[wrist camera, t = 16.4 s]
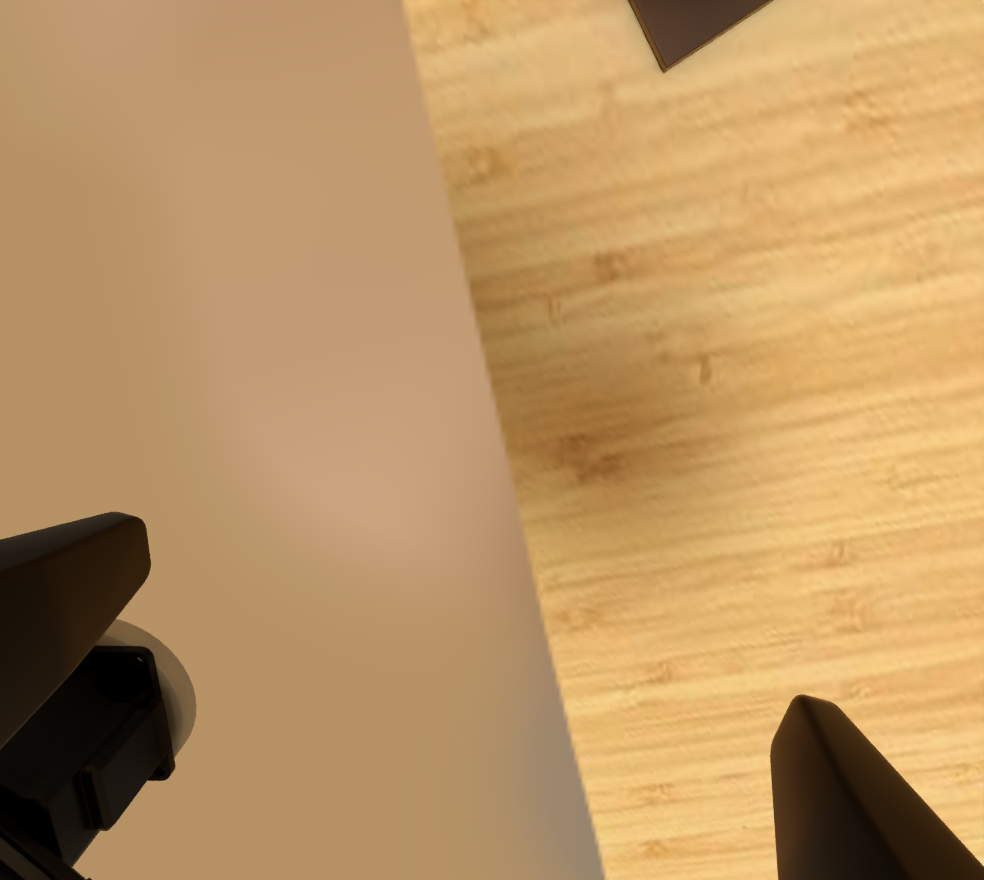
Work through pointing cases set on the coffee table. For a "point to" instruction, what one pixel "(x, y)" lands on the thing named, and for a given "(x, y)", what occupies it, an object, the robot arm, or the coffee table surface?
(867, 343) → the coffee table surface
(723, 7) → the block row
